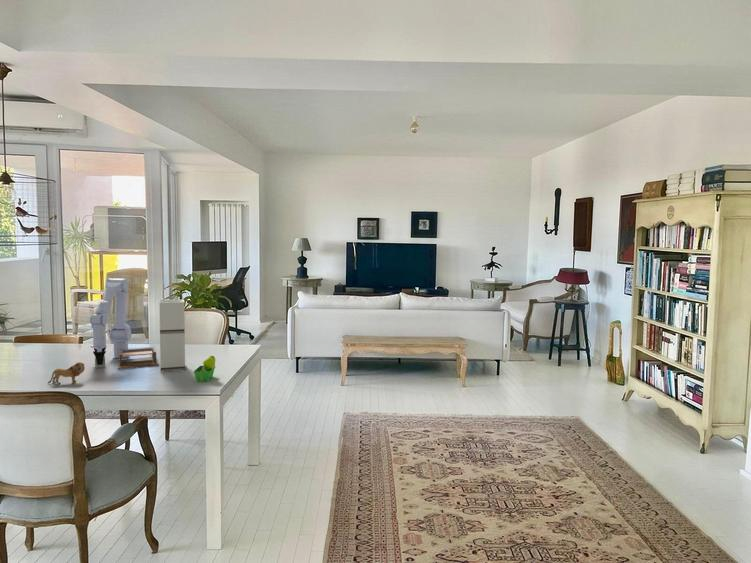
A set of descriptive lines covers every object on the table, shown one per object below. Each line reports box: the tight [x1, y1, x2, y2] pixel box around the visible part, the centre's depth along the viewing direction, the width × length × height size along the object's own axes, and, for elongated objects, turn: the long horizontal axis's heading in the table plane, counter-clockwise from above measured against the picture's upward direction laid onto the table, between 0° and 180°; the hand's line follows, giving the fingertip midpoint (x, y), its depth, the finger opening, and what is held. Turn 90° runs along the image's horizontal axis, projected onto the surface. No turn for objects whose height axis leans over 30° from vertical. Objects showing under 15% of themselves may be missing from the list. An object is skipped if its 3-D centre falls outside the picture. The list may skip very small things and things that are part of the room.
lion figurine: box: [47, 361, 85, 385], centre depth 226 cm, size 15×5×9 cm, turn 116°
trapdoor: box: [123, 346, 153, 358], centre depth 263 cm, size 10×14×3 cm
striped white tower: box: [159, 299, 186, 372], centre depth 253 cm, size 11×11×35 cm
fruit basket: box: [193, 355, 216, 382], centre depth 237 cm, size 11×9×11 cm
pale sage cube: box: [94, 355, 106, 368], centre depth 255 cm, size 4×4×5 cm
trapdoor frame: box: [116, 346, 160, 370], centre depth 263 cm, size 18×19×6 cm
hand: (100, 363), depth 255 cm, fingers open, 7 cm apart
